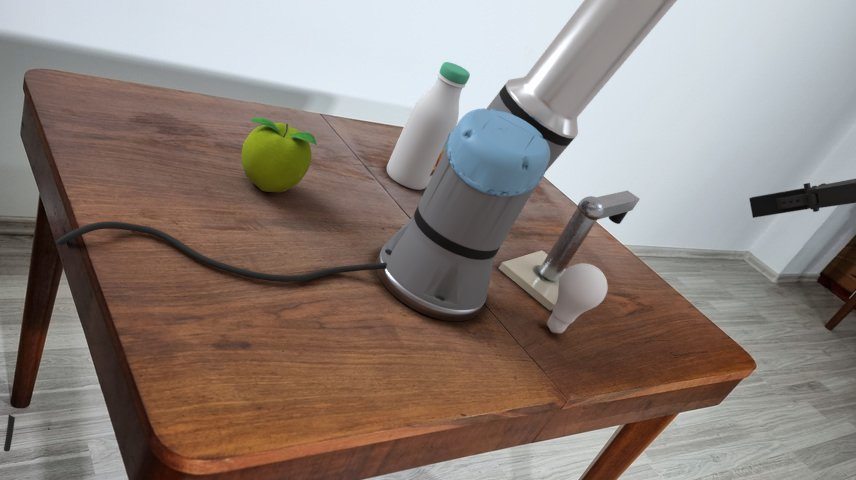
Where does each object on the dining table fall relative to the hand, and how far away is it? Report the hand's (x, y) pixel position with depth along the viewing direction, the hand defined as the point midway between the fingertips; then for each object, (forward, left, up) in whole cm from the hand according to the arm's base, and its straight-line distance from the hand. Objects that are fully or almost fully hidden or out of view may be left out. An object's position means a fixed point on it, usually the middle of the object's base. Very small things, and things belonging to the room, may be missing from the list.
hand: (752, 207), depth 96 cm
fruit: (-42, +46, -23) cm, 67 cm away
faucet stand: (-11, +15, -23) cm, 30 cm away
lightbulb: (-21, +7, -23) cm, 32 cm away
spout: (-5, +15, -21) cm, 27 cm away
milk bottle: (-13, +44, -23) cm, 52 cm away
